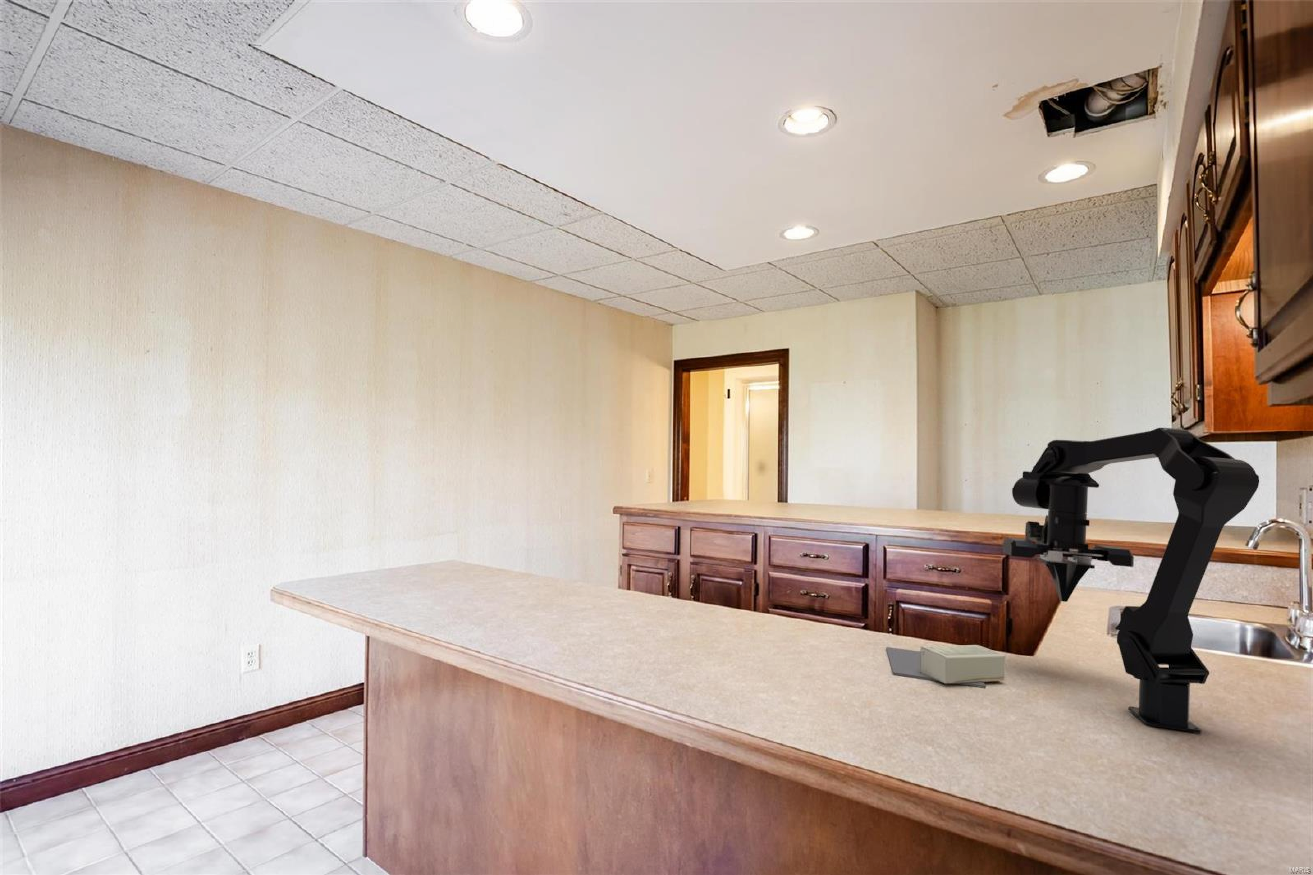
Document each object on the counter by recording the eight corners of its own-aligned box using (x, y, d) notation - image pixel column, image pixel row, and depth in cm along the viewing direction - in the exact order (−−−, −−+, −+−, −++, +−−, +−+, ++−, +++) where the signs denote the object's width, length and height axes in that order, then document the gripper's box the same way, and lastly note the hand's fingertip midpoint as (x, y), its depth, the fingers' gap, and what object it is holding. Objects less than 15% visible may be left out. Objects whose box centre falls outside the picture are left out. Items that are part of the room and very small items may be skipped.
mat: (985, 688, 102) (985, 685, 102) (893, 674, 106) (893, 672, 106) (966, 659, 117) (966, 657, 117) (886, 649, 121) (886, 646, 121)
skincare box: (976, 669, 111) (918, 672, 107) (977, 643, 111) (919, 645, 107) (1006, 681, 104) (945, 685, 101) (1006, 654, 105) (946, 657, 101)
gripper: (1106, 513, 117) (1102, 597, 116) (995, 505, 121) (991, 586, 121) (1137, 517, 106) (1133, 611, 105) (1014, 508, 110) (1010, 598, 110)
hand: (1063, 601), depth 111 cm, fingers closed
